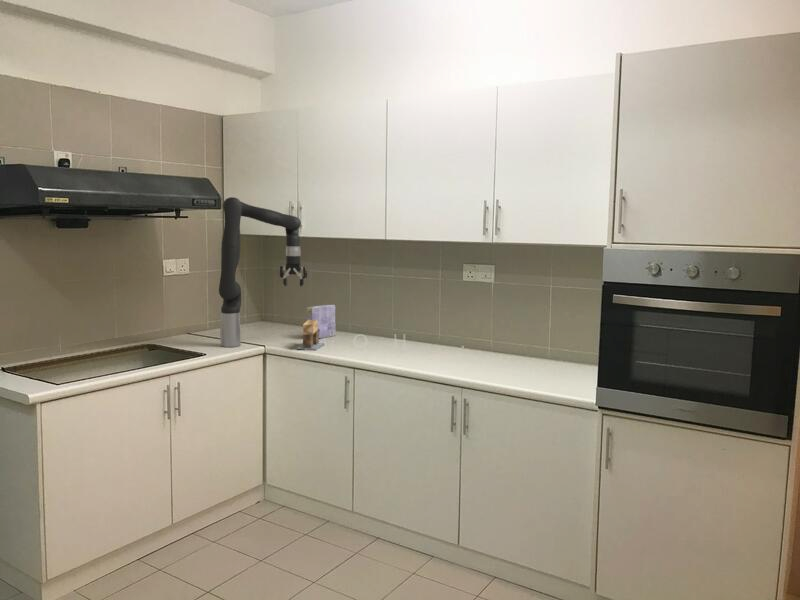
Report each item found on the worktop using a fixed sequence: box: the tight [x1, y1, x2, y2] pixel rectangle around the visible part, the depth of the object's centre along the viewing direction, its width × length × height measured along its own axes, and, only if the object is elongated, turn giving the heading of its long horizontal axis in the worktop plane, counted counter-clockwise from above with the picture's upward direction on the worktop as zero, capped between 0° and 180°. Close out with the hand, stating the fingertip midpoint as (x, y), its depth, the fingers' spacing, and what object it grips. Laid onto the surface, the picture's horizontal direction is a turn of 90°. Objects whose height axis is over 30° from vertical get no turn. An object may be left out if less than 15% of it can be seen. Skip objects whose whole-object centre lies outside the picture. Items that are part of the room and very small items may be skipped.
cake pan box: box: [306, 304, 337, 339], centre depth 356 cm, size 19×5×18 cm, turn 141°
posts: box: [302, 330, 320, 348], centre depth 329 cm, size 4×13×7 cm, turn 169°
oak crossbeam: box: [302, 319, 318, 336], centre depth 328 cm, size 5×15×5 cm, turn 179°
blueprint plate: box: [296, 342, 326, 351], centre depth 329 cm, size 10×14×1 cm
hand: (293, 285), depth 338 cm, fingers open, 8 cm apart
